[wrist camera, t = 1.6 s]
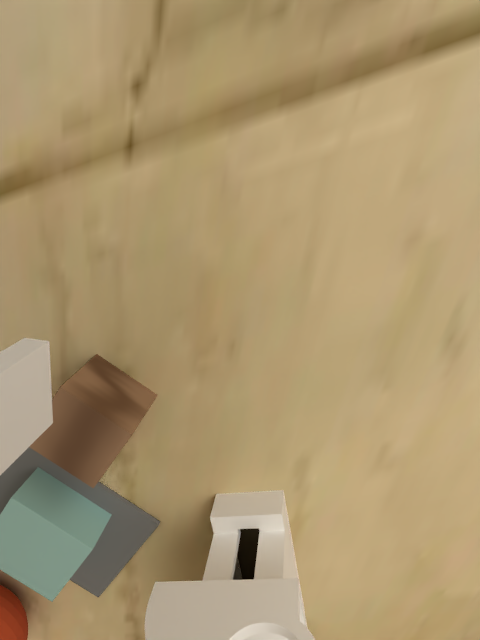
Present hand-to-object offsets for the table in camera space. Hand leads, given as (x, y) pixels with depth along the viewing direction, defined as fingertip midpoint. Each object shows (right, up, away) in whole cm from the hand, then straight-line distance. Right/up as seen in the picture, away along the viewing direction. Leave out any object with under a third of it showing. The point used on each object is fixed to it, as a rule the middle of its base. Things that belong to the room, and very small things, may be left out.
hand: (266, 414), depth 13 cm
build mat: (-18, -16, +30) cm, 38 cm away
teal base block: (-18, -16, +29) cm, 38 cm away
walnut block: (-12, -4, +25) cm, 28 cm away
